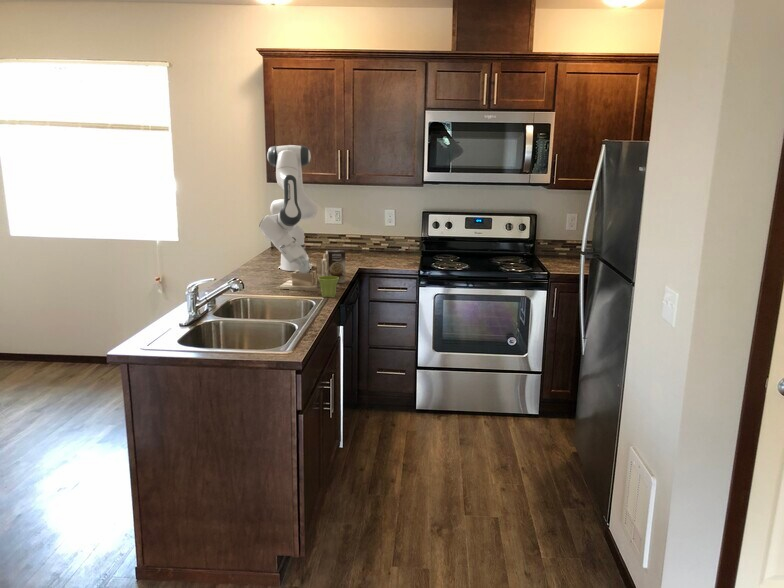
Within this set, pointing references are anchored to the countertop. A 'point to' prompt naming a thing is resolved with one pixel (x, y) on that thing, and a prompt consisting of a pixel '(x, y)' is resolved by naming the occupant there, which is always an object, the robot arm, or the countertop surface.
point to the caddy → (308, 277)
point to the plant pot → (328, 285)
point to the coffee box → (336, 264)
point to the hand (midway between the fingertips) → (305, 265)
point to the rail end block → (306, 267)
